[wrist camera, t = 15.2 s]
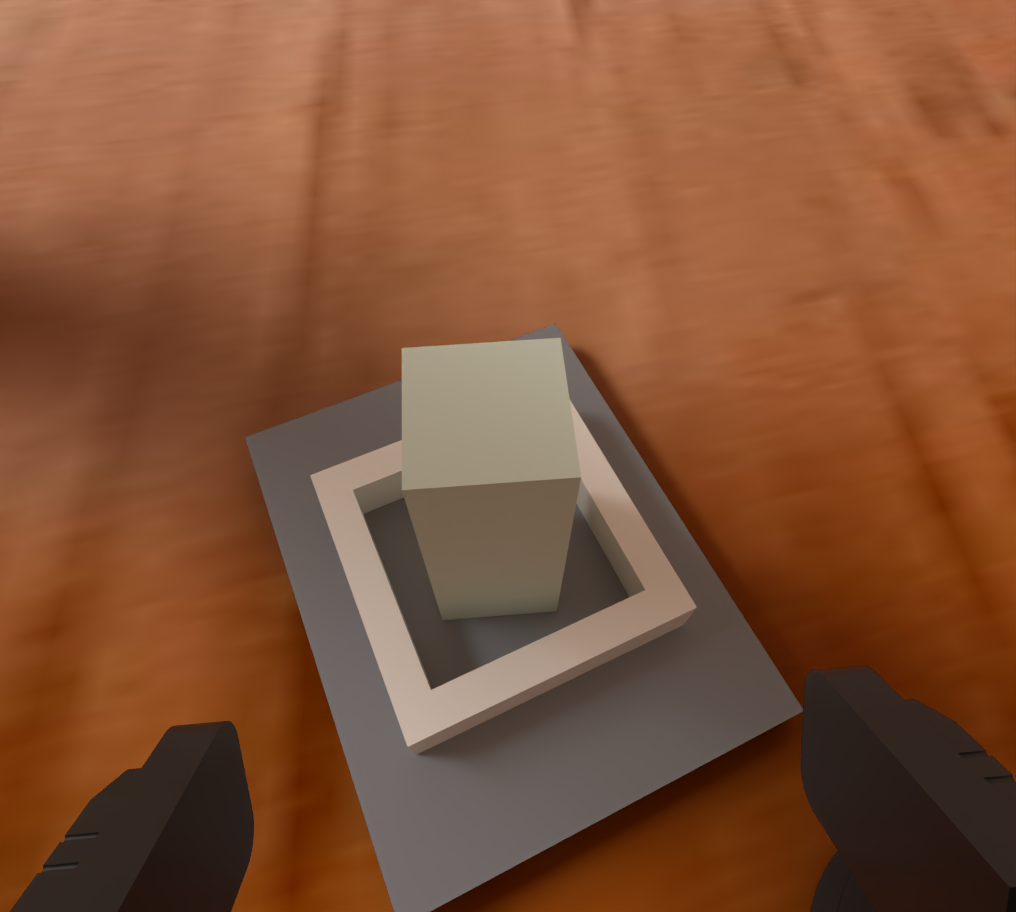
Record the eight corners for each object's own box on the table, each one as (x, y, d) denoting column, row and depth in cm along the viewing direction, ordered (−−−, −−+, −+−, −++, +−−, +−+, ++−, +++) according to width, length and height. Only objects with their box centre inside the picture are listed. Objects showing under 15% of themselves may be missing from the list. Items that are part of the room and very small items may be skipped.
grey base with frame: (256, 455, 29) (226, 409, 26) (553, 345, 32) (557, 292, 29) (406, 923, 21) (388, 936, 18) (788, 718, 24) (828, 699, 21)
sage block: (556, 611, 24) (580, 477, 15) (442, 620, 24) (402, 490, 15) (544, 508, 26) (560, 337, 17) (439, 515, 26) (401, 348, 17)
